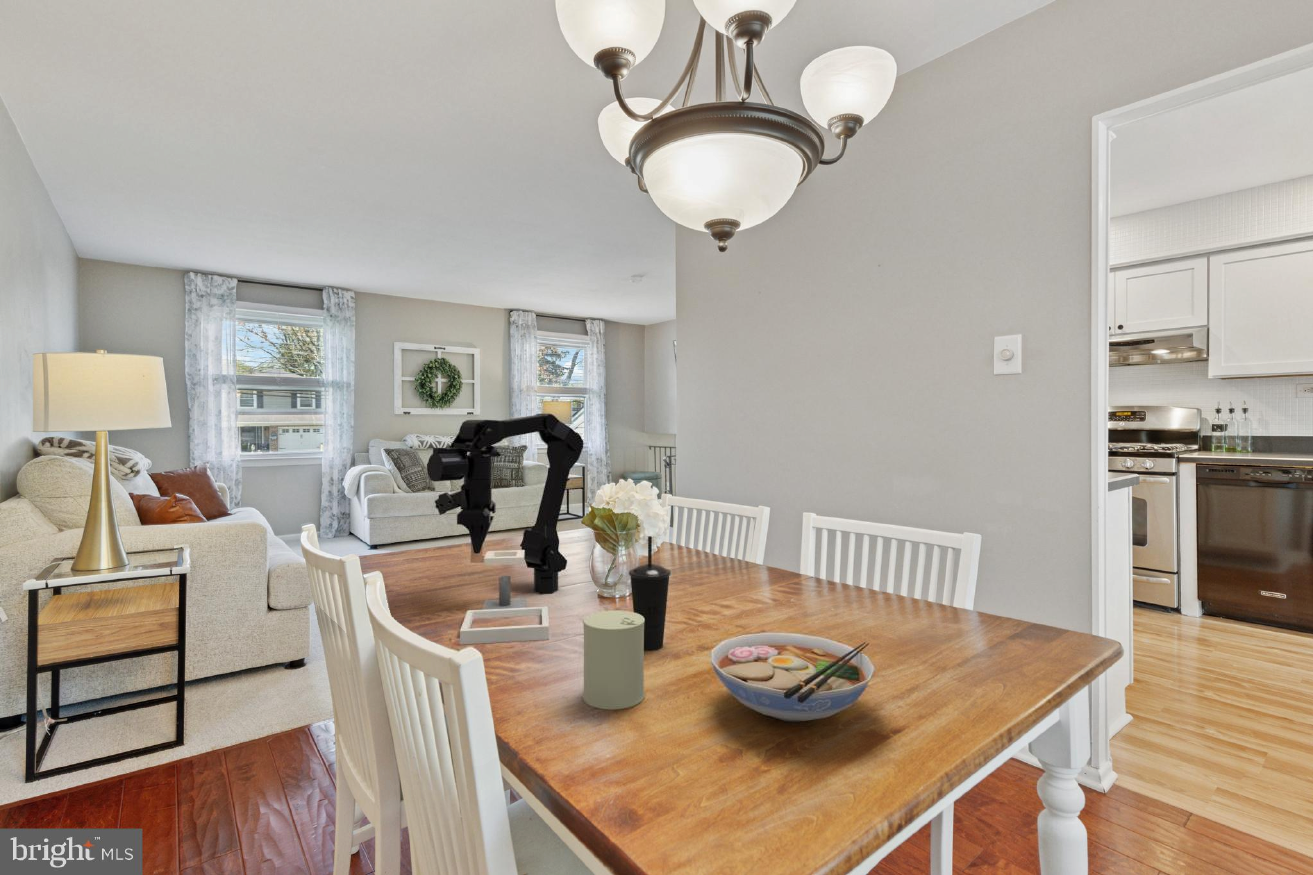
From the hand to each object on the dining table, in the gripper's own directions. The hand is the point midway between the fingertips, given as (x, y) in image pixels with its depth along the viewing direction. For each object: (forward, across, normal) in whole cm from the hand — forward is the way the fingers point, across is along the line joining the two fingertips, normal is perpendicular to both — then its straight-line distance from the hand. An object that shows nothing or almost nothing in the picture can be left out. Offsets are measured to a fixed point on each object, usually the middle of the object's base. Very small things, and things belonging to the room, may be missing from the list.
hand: (477, 552), depth 134 cm
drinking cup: (+13, +25, +33) cm, 44 cm away
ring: (+2, 0, +4) cm, 5 cm away
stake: (+13, -1, +6) cm, 14 cm away
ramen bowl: (+13, +54, +48) cm, 74 cm away
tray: (+13, +13, +7) cm, 19 cm away
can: (+13, +45, +24) cm, 53 cm away
